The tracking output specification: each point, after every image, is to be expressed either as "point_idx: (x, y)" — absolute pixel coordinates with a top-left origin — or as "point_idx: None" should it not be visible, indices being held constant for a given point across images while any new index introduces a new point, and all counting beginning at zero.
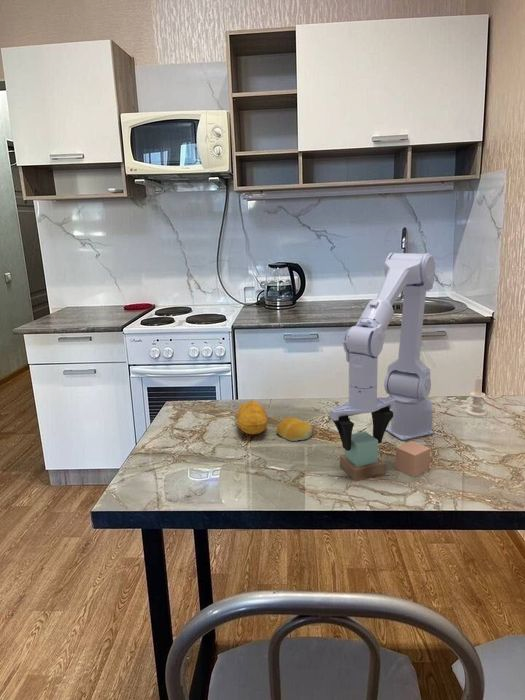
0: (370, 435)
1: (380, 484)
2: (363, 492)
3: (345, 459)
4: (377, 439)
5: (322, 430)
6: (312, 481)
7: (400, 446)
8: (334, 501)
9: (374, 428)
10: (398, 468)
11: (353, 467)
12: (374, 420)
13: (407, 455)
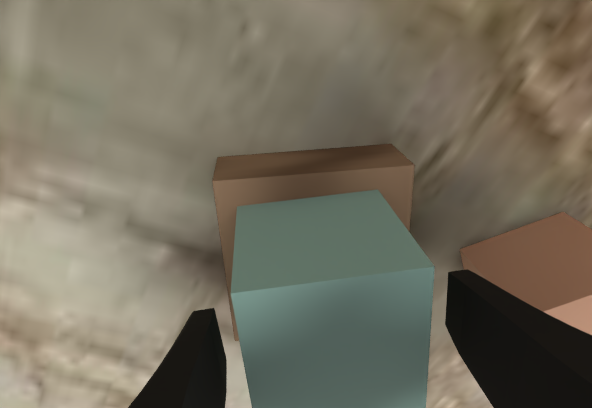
0: (424, 342)
1: None
2: (233, 373)
3: (228, 235)
4: (455, 327)
5: None
6: (31, 255)
7: (552, 314)
8: (101, 400)
9: (502, 336)
10: (465, 266)
11: (235, 319)
12: (555, 392)
13: None
